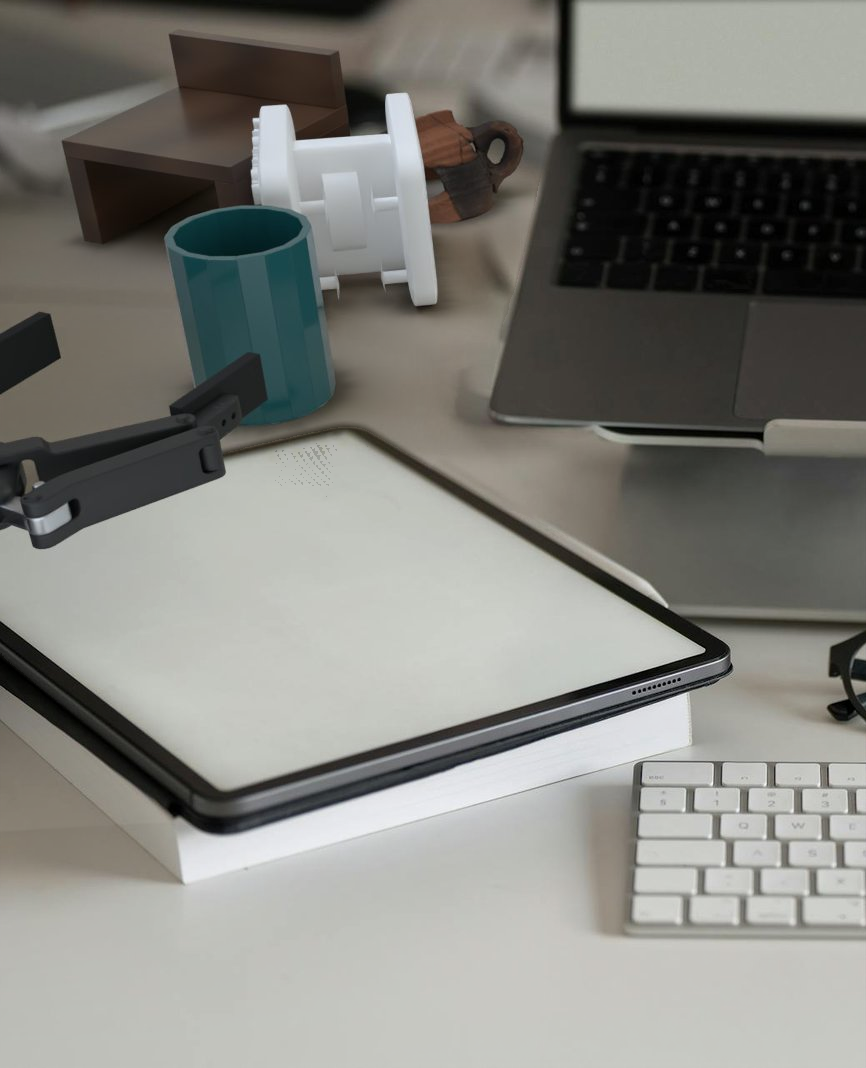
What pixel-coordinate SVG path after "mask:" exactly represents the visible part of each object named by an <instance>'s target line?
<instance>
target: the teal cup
mask: <svg viewBox="0 0 866 1068" xmlns="http://www.w3.org/2000/svg"><path fill="white" fill-rule="evenodd" d="M163 240H164V246H165V251H166V255H167V261H168V266H169V271H170V274H171V281H172V285H173V290H174V294H175V300H176V305H177V309H178V315H179V319H180V324H181V329H182V334H183V339H184V344H185V349H186V354H187V358H188V359H187V360H188V364H189V368H190V374H191V379H192V384H193V389H194V388H196V387H197V386H199V385H200V384H202V383H203V382H205V381H206V380H208V379H209V378H210V377H212V376H213V375H215V374H216V373H218V372H219V371H221V370H222V369H224V368H225V367H227V366H228V365H229V364H231V363H232V362H234V361H235V360H237V359H238V358H240V357H241V356H243V355H244V354H246V353H247V352H251V353H256V354H260V357H261V363H262V369H263V374H264V380H265V386H266V391H267V397H268V400H267V401H266V402H264V403H263V404H261V405H260V406H259V407H257V408H256V409H255V410H253V411H252V412H251V413H249V414H248V415H246V416H245V417H244V418H242V419H243V420H242V422H241V424H240V425H239V426H243V427H258V426H259V427H260V426H270V425H276V424H282V423H286V422H290V421H295V420H299V419H301V418H303V417H306V416H307V415H310V414H312V413H314V412H316V411H319V410H320V409H321V408H322V407H324V406H325V405H327V403H329V402H330V400H331V399H332V398H333V396H334V394H335V391H336V387H337V383H336V376H335V370H334V363H333V356H332V349H331V342H330V337H329V336H330V335H329V331H328V324H327V316H326V311H325V304H324V297H323V290H321V283H320V277H319V270H318V264H317V257H316V251H315V244H314V238H313V231H312V226H311V224H310V222H309V220H308V219H307V217H306V216H304V215H302V214H300V213H298V212H296V211H294V210H291V209H286V208H280V207H274V206H267V205H254V206H234V207H227V208H220V209H219V208H214V209H210V210H207V211H204V212H201V213H197V214H194V215H191V216H188V217H186V218H184V219H183V220H181V221H179V222H177V223H175V224H174V225H172V226H171V227H170V228H169V229H168V231H167V233H166V234H165V235H164V238H163Z"/></svg>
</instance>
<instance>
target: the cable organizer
mask: <svg viewBox="0 0 866 1068" xmlns="http://www.w3.org/2000/svg"><path fill="white" fill-rule="evenodd" d="M384 100H385V103H384V104H385V105H384V106H385V107H384V108H385V109H384V110H385V121H386V130H388V134H380V133H378V134H366V135H353V136H351V135H350V136H351V137H337V138H324V139H310V140H297V141H296V137H295V131H294V125H293V120H292V116H291V113H290V110H289V108H288V106H287V105H273V106H262V107H261V109H260V115H259V118H253V124H254V131H252V134H253V137H252V142H253V150H252V153H253V160H252V170H251V177H252V193H253V198H254V204H255V205H258V204H262V205H267V206H274V207H280V208H286V209H291V210H294V211H296V212H298V213H300V214H302V215H304V216H306V217H307V219H308V220H309V222H310V224H311V226H312V231H313V238H314V244H315V251H316V257H317V264H318V270H319V277H320V283H321V290H322V291H327V290H336V292H337V298H338V300H340V282H339V278H338V276H347V275H357V274H367V273H368V274H369V273H380V280H381V283H382V286H383V289H384V290H386V286H385V285H392V284H402V283H403V284H404V283H407V284H408V289H409V294H410V297H411V301H412V303H413V305H414V306H415V307H422V306H431V305H436V304H437V302H438V279H437V272H436V271H437V270H436V262H435V261H436V260H435V253H434V245H433V235H432V227H431V222H430V217H429V208H428V200H429V199H428V191H427V183H426V181H425V173H424V165H423V159H422V154H421V149H420V144H419V139H418V134H417V129H416V124H415V115H414V110H413V105H412V101H411V98H410V96H409V93H408V92H398V93H387V94H386V95H385V99H384ZM384 292H385V293H387V291H384Z"/></svg>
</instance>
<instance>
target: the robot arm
mask: <svg viewBox="0 0 866 1068" xmlns="http://www.w3.org/2000/svg"><path fill="white" fill-rule="evenodd" d="M60 359H62V355H61V351H60V346H59V343H58V339H57V334H56V331H55V326H54V323H53V319H52V314H51V313H48V312H45V311H44V312H43V311H37V312H36V313H34V314H32V315H30V316H29V317H27V318H25V319H23V320H21V321H20V322H18V323H16V324H14V325H13V326H11V327H9V328H8V329H6V330H4V331H2V332H0V395H1V396H2V394H4V393H5V392H7V391H9V390H11V389H12V388H14V387H16V386H17V385H19V384H21V383H23V382H24V381H25V380H27V379H29V378H31V377H32V376H34V375H36V374H37V373H39V372H40V371H42V370H44V369H45V368H47V367H49V366H51V365H52V364H54V363H55V362H57V361H59V360H60ZM267 400H268V397H267V391H266V386H265V380H264V374H263V369H262V363H261V357H260V354H256V353H251V352H247V353H246V354H244V355H243V356H241V357H240V358H238V359H237V360H235V361H234V362H232V363H231V364H229V365H228V366H227V367H225V368H224V369H222V370H221V371H219V372H218V373H216V374H215V375H213V376H212V377H210V378H209V379H208V380H206V381H205V382H203V383H202V384H200V385H199V386H197V387H196V388H194V387H193V389H192V390H190V391H188V392H187V393H186V394H184V395H183V396H181V397H180V398H179V399H177V400H176V401H173V403H171V404H170V405H168V409H169V413H170V415H169V416H165V417H160V418H157V419H152V420H147V421H142V422H138V423H137V422H136V423H133V424H129V425H125V426H120V427H114V428H111V429H107V430H101V431H97V432H92V433H88V434H84V435H78V436H75V437H70V438H66V439H60V440H57V441H52V442H50V441H47V440H45V438H43V437H41V436H30V437H26V438H21V439H17V440H11V441H7V442H3V441H0V531H3V530H6V529H8V528H10V527H15V528H18V529H21V530H23V531H27V532H28V535H29V539H30V542H31V545H32V548H34V549H36V550H47V549H51V548H54V547H56V546H57V545H59V544H61V543H62V542H64V541H66V540H67V539H68V538H71V537H72V536H73V535H75V534H77V533H78V532H80V531H82V530H84V529H86V528H89V527H91V526H94V525H97V524H99V523H102V522H105V521H109V520H110V519H113V518H116V517H119V516H121V515H124V514H127V513H129V512H132V511H135V510H137V509H140V508H143V507H145V506H146V507H147V506H149V505H151V504H154V503H156V502H158V501H162V500H165V499H167V498H170V497H173V496H175V495H178V494H180V493H181V494H182V493H184V492H187V491H189V490H192V489H195V488H198V487H200V486H203V485H206V484H208V483H211V482H213V481H217V480H219V479H221V478H223V477H224V476H225V475H226V473H227V469H226V465H225V460H224V455H223V450H222V445H221V444H222V443H221V440H222V439H223V438H225V437H226V436H227V435H229V434H230V433H232V432H233V430H235V429H237V428H238V427H239V426H241V425H240V424H241V422H242V420H243V419H242V418H244V417H245V416H246V415H248V414H249V413H251V412H252V411H253V410H255V409H256V408H257V407H259V406H260V405H261V404H263V403H264V402H266V401H267ZM23 461H32V462H33V465H34V468H35V472H36V475H37V479H38V480H37V481H35V482H33V483H32V484H31V488H32V489H31V490H30V491H28V492H26V490H27V485H28V480H27V478H28V477H27V475H26V470H25V468H24V464H23Z"/></svg>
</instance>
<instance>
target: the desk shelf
mask: <svg viewBox="0 0 866 1068" xmlns="http://www.w3.org/2000/svg"><path fill="white" fill-rule="evenodd" d="M168 39H169V43H170V49H171V54H172V55H171V56H172V59H173V65H174V66H173V67H174V71H175V76H176V82H177V86H176V87H174V88H172V89H169V90H167V91H166V92H163V93H161V94H159V95H157V96H155V97H153V98H151V99H148V100H146V101H144V102H141V103H139V104H137V105H135V106H133V107H131V108H129V109H126V110H124V111H122V112H119V113H118V114H116V115H113V116H111V117H108V118H107V119H105V120H103V121H100V122H98V123H96V124H93V125H92V126H90V127H87V128H85V129H83V130H81V131H79V132H77V133H74V134H71V135H70V136H67V137H65V138H63V139H62V140H61V146H62V149H63V153H64V158H65V161H66V162H65V163H66V167H67V171H68V176H69V180H70V184H71V189H72V194H73V197H74V201H75V206H76V210H77V215H78V218H79V223H80V228H81V232H82V235H83V237H82V238H83V240H84V242H88V243H94V244H100V245H104V244H106V243H107V242H109V241H111V240H113V239H115V238H117V237H118V236H120V235H122V234H124V233H125V232H127V231H129V230H131V229H133V228H135V227H137V226H139V225H140V224H142V223H144V222H146V221H147V220H150V219H152V218H153V217H155V216H156V215H159V214H161V213H163V212H164V211H167V210H169V209H170V208H171V207H174V206H175V205H177V204H179V203H181V202H182V201H185V200H186V199H188V198H190V197H192V196H194V195H195V194H197V193H199V192H201V191H203V190H205V189H206V188H208V187H210V186H212V185H213V184H214V187H215V191H216V197H217V203H218V209H220V208H227V207H234V206H254V205H255V204H254V198H253V193H252V177H251V170H252V160H253V153H252V150H253V142H252V137H253V134H252V131H254V124H253V118H259V115H260V109H261V107H262V106H273V105H287V106H288V108H289V110H290V113H291V116H292V120H293V125H294V131H295V137H296V141H297V140H310V139H324V138H337V137H351V130H350V129H351V128H350V122H349V113H348V106H347V100H346V91H345V85H344V77H343V71H342V64H341V63H342V62H341V56H340V54H341V53H340V50H336V49H330V48H322V47H316V46H307V45H299V44H292V43H284V42H277V41H269V40H261V39H254V38H248V37H247V38H246V37H240V36H239V37H238V36H231V35H223V34H216V33H209V32H201V31H194V30H186V29H176V30H173V31H171V32H169V33H168ZM258 205H262V204H258Z"/></svg>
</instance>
